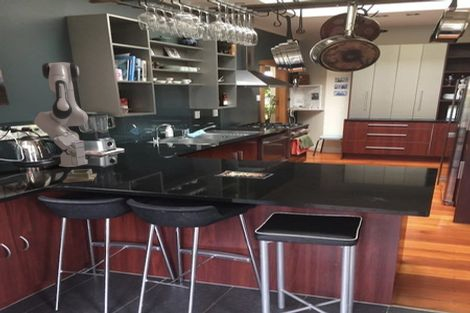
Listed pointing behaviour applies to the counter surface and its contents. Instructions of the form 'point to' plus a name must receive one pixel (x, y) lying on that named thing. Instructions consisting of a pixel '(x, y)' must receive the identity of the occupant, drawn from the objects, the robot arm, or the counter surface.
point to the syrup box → (78, 153)
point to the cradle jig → (80, 176)
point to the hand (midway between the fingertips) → (78, 150)
